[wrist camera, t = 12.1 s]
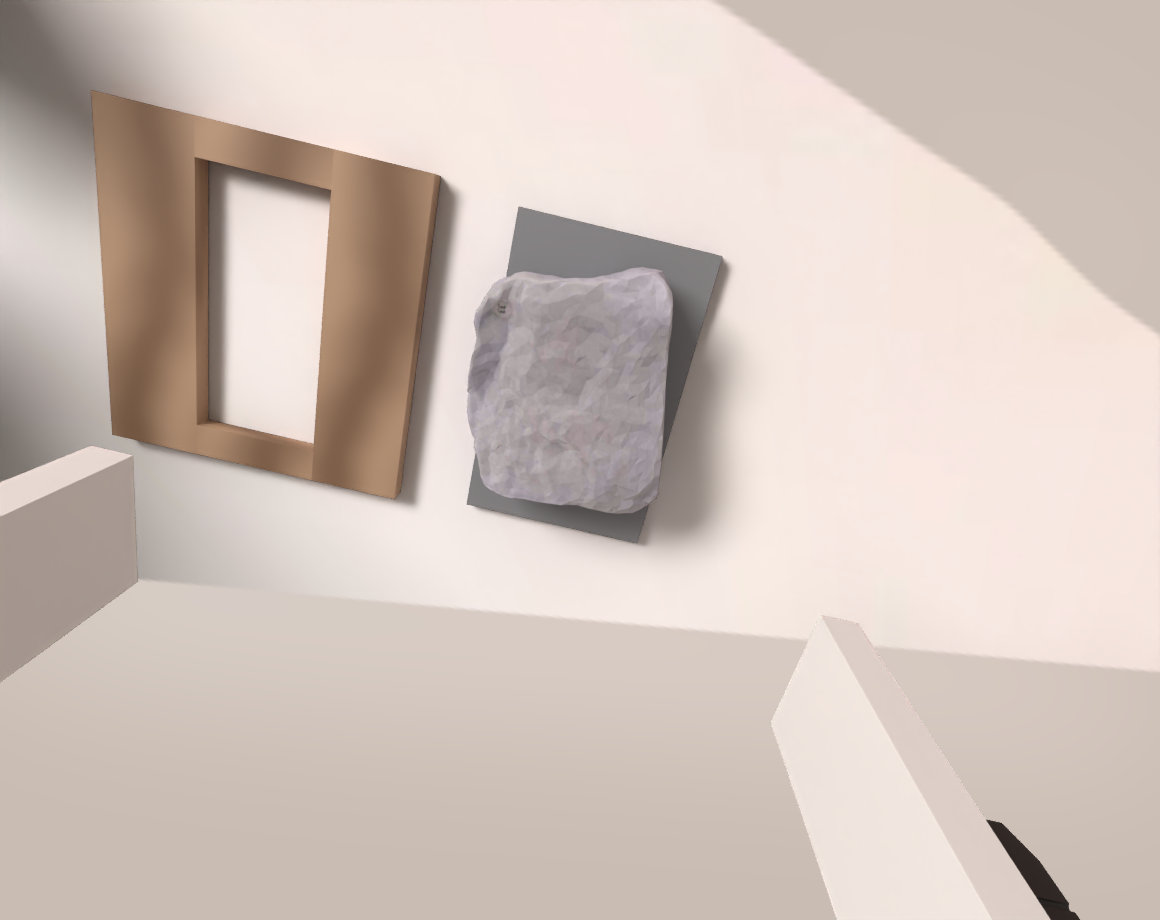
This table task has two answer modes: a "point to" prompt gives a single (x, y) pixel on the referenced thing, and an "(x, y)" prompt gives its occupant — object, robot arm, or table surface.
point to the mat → (588, 255)
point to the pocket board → (180, 292)
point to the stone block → (572, 388)
